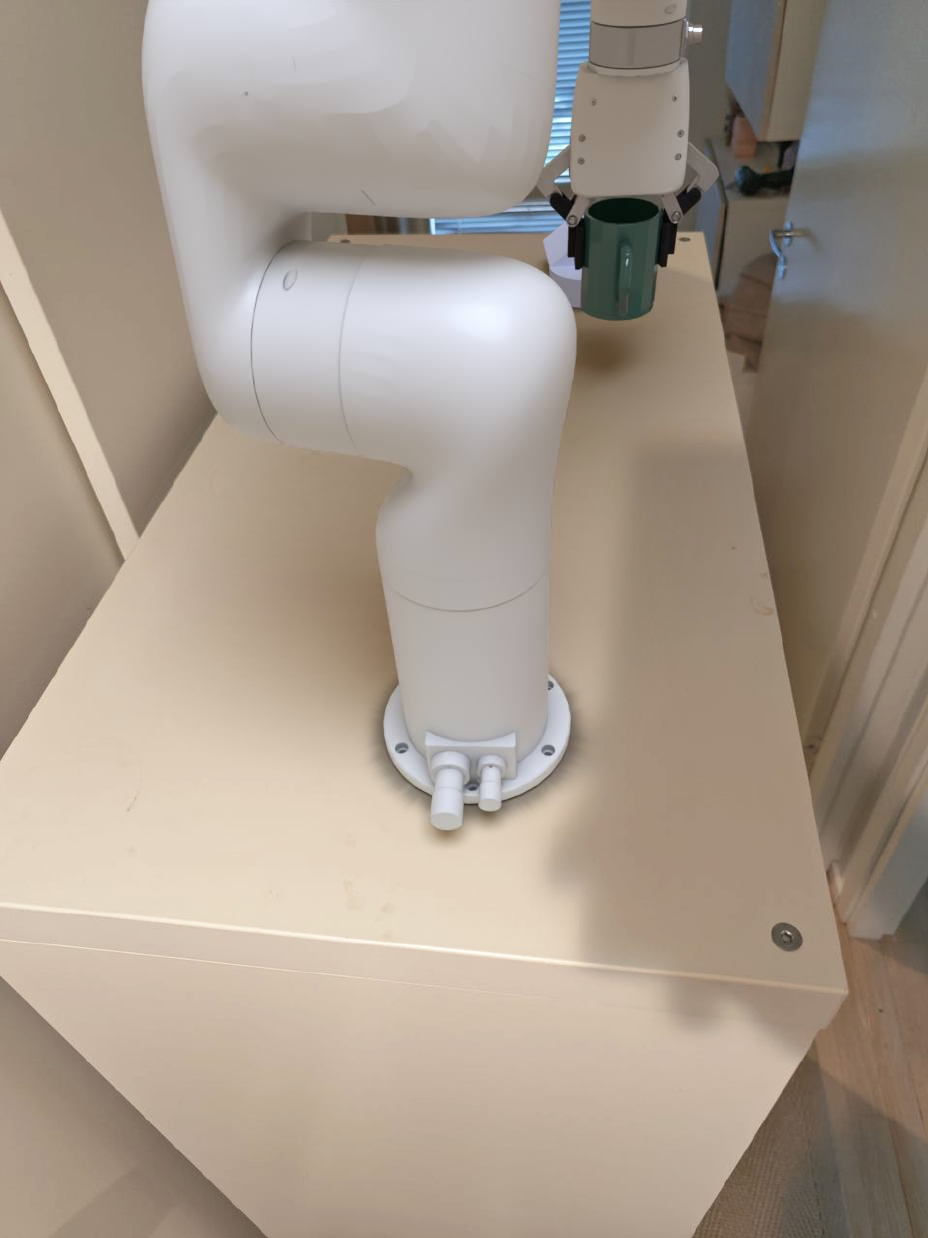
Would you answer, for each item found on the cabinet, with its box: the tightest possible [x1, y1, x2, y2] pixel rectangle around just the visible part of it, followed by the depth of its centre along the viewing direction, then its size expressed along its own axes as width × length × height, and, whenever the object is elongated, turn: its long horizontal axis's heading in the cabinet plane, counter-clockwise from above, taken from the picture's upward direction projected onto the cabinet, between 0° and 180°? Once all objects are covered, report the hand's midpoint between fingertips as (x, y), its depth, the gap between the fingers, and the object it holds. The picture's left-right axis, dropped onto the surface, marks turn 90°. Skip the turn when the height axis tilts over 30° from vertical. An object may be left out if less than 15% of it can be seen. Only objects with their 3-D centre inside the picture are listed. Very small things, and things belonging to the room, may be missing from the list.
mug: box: [580, 197, 664, 322], centre depth 80 cm, size 10×7×9 cm
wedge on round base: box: [542, 216, 583, 309], centre depth 104 cm, size 9×7×13 cm
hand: (619, 261), depth 81 cm, fingers closed on mug, 7 cm apart
